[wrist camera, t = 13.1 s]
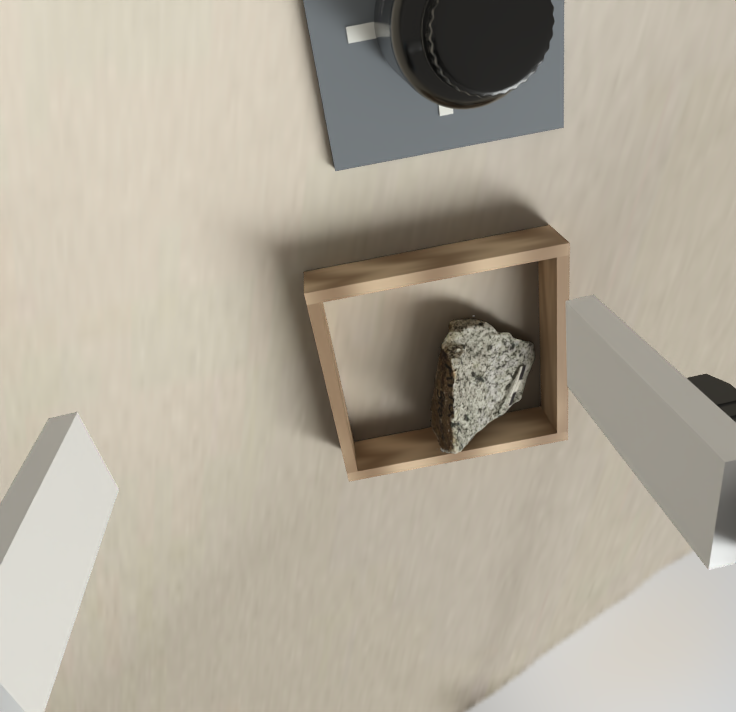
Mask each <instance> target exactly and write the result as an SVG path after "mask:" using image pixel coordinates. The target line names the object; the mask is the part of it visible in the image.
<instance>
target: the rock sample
mask: <svg viewBox="0 0 736 712" xmlns="http://www.w3.org/2000/svg"><path fill="white" fill-rule="evenodd" d="M473 316H474V315H473ZM449 330H450V331H449V333H448V335H447V336H446V338H445V339H444V341H443V343H442V345H441V347H440V348H441V350H440V355H439V360H438V364H437V372H436V378H435V387H434V392H433V397H432V401H431V411H432V419H431V420H430V421H431V425H432V427H433V431H434V433H435V435H437V438H438V442H439V446H441V448H440V451H442V452H446V453H452V454H457V453H459V452H461V451H462V450H463V448H464V447H465V446H466V445H467V444H468V442H469V441H471V439H472V438H473V437H474V436H475V434H476V433H477V432H479V431H480V430H482V429H483V428H484V427H485V426H486V425H487V424H488V423H489V422H491V421H493V420H494V419H496V418H498V417H500V416H502V415H503V414H504V413H505V412H506V411H507V410H508V408H510V407H511V406H512V405H513V404H514V403H515V402H518V401H520V399H521V398H522V393H523V390H524V387H525V383H526V379H527V375H528V373H529V371H530V370H531V366H532V363H533V362H534V360H535V353H534V345H533V343H531V342H530V341H527V342H525V341H523V340H519V339H515V338H513V337H512V336H511V334H510V333H508V332H497V331H496V330H495V329H494V328H493V327H492V326H491V325H490V324H489V323H487V322H484V321H482V320H481V321H479V320H476V319H470V318H468V319H460V320H458V319H456V320H452V321H451V322H450V323H449Z"/></svg>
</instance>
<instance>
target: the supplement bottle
mask: <svg viewBox="0 0 736 712" xmlns="http://www.w3.org/2000/svg"><path fill="white" fill-rule="evenodd" d="M553 12H554V6H553V4H552V2H551V0H376V2H375V9H374V29H375V35H376V39H377V43H378V46H379V48H380V51H381V53H382V55H383V57H384V58H385V60H386V61H387V63H388V64H389V66H390V67H391V68H392V69H393V70H394V71H395V72H396V73H397V74H398V75H399V76H400V77H401V78H402V79H403V80H404V81H405V82H406V83H407V84H409V85H410V86H411V87H412V88H413V89H414V90H415V91H416V92H417V93H419V94H420V95H421V96H423V97H424V98H426V99H427V100H429V101H431V102H433V103H435V104H437V105H440V106H443V107H446V108H451V109H460V110H466V109H475V108H480V107H483V106H486V105H489V104H491V103H494V102H496V101H497V100H499V99H501V98H503V97H504V96H506V95H507V94H508V93H510V92H511V91H512V90H514V89H517V87H518V86H519V85H520V84H522V83H524V82H526V81H527V80H528V78H529V76H530V75H532V74H534V73H535V72H536V70H537V67H538V65H540V64H541V63H542V62H543V60H544V55H545V53H546V52H547V51H548V50H549V47H550V40H551V39H552V37H553V29H552V28H553V25H554V22H555V20H554V17H553Z"/></svg>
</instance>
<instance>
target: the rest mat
mask: <svg viewBox="0 0 736 712" xmlns="http://www.w3.org/2000/svg"><path fill="white" fill-rule="evenodd" d="M375 2H376V0H303V3H304V8H305V13H306V19H307V24H308V29H309V34H310V40H311V45H312V50H313V56H314V61H315V66H316V72H317V77H318V82H319V87H320V93H321V98H322V103H323V109H324V114H325V119H326V125H327V130H328V135H329V140H330V146H331V151H332V156H333V162H334V167H335V171H339V170H344V169H349V168H355V167H360V166H365V165H370V164H376V163H381V162H386V161H391V160H396V159H402V158H407V157H412V156H417V155H423V154H428V153H433V152H438V151H444V150H449V149H454V148H459V147H465V146H470V145H475V144H480V143H486V142H491V141H496V140H501V139H506V138H512V137H517V136H522V135H527V134H533V133H538V132H543V131H548V130H554V129H559V128H564V0H551V2H552V4H553V6H554V12H553V17H554V20H555V22H554V25H553V28H552V29H553V37H552V39H551V40H550V47H549V50H548V51H547V52H546V53H545V55H544V60H543V62H542V63H541V64H540V65H538V67H537V70H536V72H535V73H534V74H532V75H530V76H529V78H528V80H527V81H526V82H524V83H522V84H520V85H519V86H518V87H517V89H514V90H512V91H511V92H510V93H508V94H507V95H506V96H504V97H503V98H501V99H499V100H497V101H496V102H494V103H491V104H489V105H486V106H483V107H480V108H475V109H466V110H460V109H451V108H446V107H443V106H440V105H437V104H435V103H433V102H431V101H429V100H427V99H426V98H424V97H423V96H421V95H420V94H419V93H417V92H416V91H415V90H414V89H413V88H412V87H411V86H410V85H409V84H407V83H406V82H405V81H404V80H403V79H402V78H401V77H400V76H399V75H398V74H397V73H396V72H395V71H394V70H393V69H392V68H391V67H390V66H389V64H388V63H387V61H386V60H385V58H384V57H383V55H382V53H381V51H380V48H379V46H378V43H377V39H376V35H375V29H374V9H375Z"/></svg>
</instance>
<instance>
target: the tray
mask: <svg viewBox="0 0 736 712" xmlns="http://www.w3.org/2000/svg"><path fill="white" fill-rule="evenodd" d="M536 261H538V273H539V326H540V379H541V406H540V407H534V408H529V409H524V410H519V411H513V412H508V413H504V414H503V415H502V416H500V417H498V418H496V419H494V420H493V421H491V422H489V423H488V424H487V425H486V426H485V427H484V428H483V429H482V430H480V431H479V432H477V433H476V434H475V436H474V437H473V438H472V439H471V441H469V442H468V444H467V445H466V446H465V447H464V448H463V450H462V451H461V452H459V453H457V454H452V453H446V452H442V451H440V448H441V446H439V442H438V438H437V435H435V433H434V431H433V427H430V428H424V429H419V430H414V431H409V432H404V433H398V434H393V435H388V436H383V437H377V438H372V439H367V440H362V441H356V442H354V439H353V435H352V430H351V426H350V421H349V417H348V413H347V408H346V404H345V399H344V395H343V390H342V386H341V381H340V377H339V372H338V368H337V363H336V359H335V354H334V350H333V346H332V341H331V337H330V332H329V328H328V323H327V319H326V314H325V310H324V305H323V302H326V301H332V300H337V299H342V298H347V297H353V296H358V295H363V294H368V293H373V292H379V291H384V290H389V289H394V288H400V287H405V286H410V285H415V284H421V283H426V282H431V281H436V280H442V279H447V278H452V277H457V276H462V275H468V274H473V273H478V272H483V271H489V270H494V269H499V268H504V267H510V266H515V265H520V264H525V263H531V262H536ZM569 263H570V243H569V242H568V241H567V240H566V239H565V238H564V237H562V236H561V235H560V234H559V233H558V232H557V231H556V230H555V229H553V228H552V227H551V226H550V225H547V226H541V227H536V228H531V229H526V230H520V231H515V232H510V233H505V234H500V235H494V236H489V237H484V238H479V239H473V240H468V241H463V242H458V243H452V244H447V245H442V246H437V247H431V248H426V249H421V250H416V251H410V252H405V253H400V254H395V255H390V256H384V257H379V258H374V259H369V260H363V261H358V262H353V263H348V264H342V265H337V266H332V267H327V268H321V269H316V270H311V271H306V272H304V296H305V300H306V304H307V309H308V313H309V317H310V321H311V325H312V329H313V334H314V338H315V342H316V346H317V350H318V354H319V359H320V363H321V367H322V371H323V375H324V379H325V384H326V388H327V392H328V396H329V400H330V405H331V409H332V413H333V417H334V421H335V425H336V430H337V434H338V438H339V442H340V446H341V450H342V455H343V459H344V463H345V467H346V471H347V475H348V480H349V481H354V480H360V479H365V478H370V477H375V476H381V475H386V474H391V473H396V472H402V471H407V470H412V469H417V468H423V467H428V466H433V465H438V464H443V463H449V462H454V461H459V460H464V459H470V458H475V457H480V456H485V455H491V454H496V453H501V452H506V451H511V450H517V449H522V448H527V447H532V446H538V445H543V444H548V443H553V442H559V441H564V440H568V387H567V351H566V301H567V300H569Z"/></svg>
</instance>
